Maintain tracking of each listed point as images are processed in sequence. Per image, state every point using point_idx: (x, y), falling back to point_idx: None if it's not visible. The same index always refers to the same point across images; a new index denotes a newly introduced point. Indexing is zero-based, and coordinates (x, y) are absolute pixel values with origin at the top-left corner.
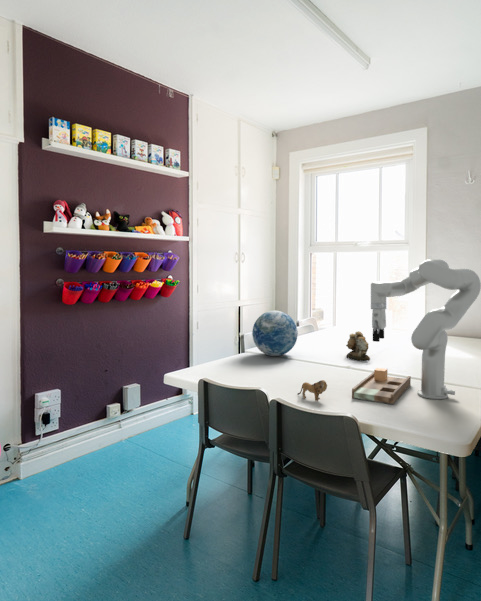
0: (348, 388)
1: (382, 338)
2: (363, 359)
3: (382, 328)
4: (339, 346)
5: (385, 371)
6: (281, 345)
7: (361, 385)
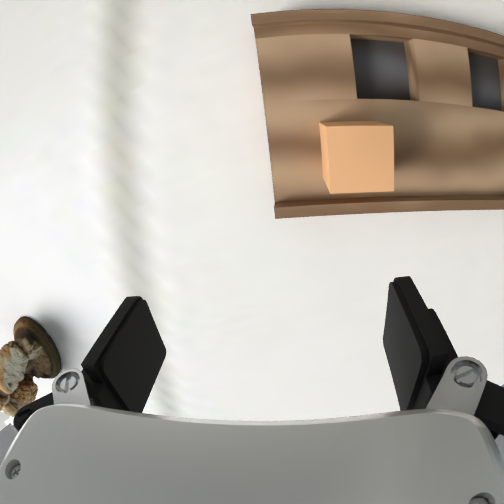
0: (446, 249)
1: (144, 307)
2: (42, 332)
3: (428, 417)
4: None
5: (373, 125)
6: None
7: (496, 196)
